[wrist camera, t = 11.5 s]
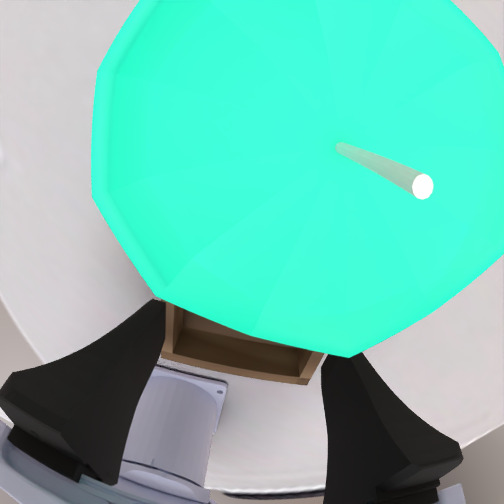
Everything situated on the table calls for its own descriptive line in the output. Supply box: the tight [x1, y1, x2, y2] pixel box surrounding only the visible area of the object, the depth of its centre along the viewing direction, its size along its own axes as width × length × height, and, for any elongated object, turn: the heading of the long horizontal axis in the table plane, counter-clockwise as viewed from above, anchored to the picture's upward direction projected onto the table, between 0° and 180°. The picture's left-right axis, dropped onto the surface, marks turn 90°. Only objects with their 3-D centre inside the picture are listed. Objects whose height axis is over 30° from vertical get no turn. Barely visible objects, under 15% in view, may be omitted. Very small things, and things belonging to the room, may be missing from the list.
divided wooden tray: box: [161, 299, 324, 385], centre depth 14 cm, size 20×10×4 cm, turn 168°
